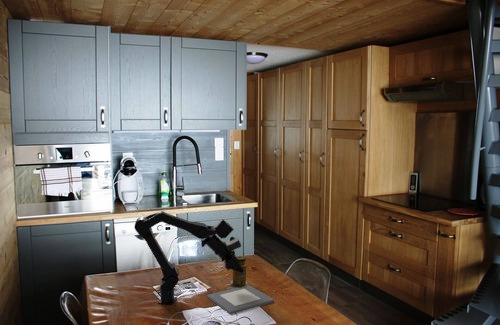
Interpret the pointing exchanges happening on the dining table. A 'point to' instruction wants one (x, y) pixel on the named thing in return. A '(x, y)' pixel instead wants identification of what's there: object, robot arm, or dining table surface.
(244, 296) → the grey square board
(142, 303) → the dining table surface
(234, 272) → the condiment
